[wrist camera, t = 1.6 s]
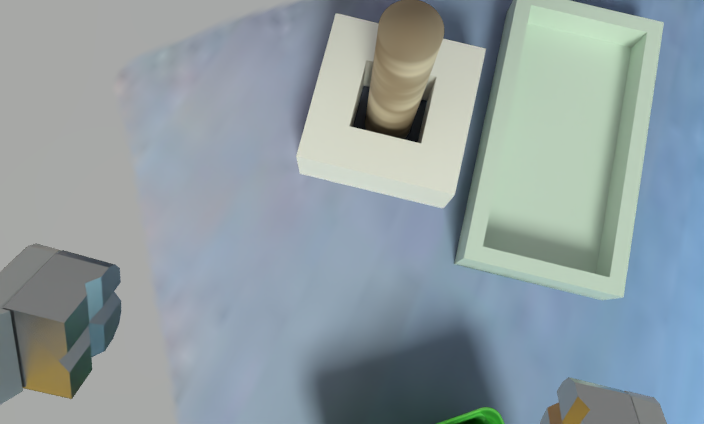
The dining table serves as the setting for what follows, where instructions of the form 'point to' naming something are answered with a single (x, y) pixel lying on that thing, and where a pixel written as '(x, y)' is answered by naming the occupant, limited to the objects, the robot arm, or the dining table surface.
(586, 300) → the dining table surface
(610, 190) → the tray
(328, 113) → the socket block
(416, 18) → the dowel
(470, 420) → the fruit basket
